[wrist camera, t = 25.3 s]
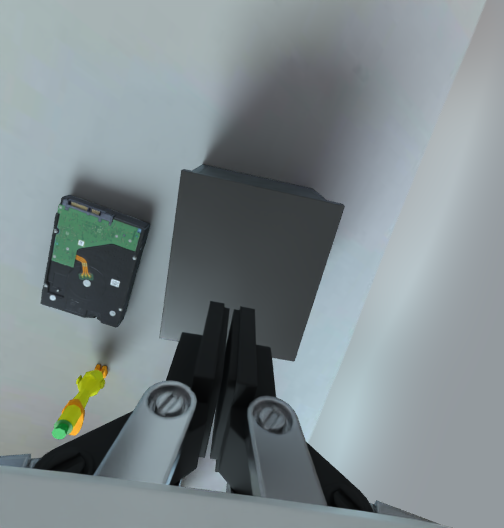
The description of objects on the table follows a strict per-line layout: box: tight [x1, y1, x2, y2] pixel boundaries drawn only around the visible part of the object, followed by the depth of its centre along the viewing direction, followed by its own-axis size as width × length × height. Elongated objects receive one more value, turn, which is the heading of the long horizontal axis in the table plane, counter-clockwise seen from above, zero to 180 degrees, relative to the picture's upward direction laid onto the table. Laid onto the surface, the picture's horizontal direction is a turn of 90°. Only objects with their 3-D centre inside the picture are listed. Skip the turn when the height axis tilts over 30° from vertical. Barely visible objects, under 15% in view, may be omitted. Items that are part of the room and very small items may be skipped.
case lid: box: [160, 169, 345, 361], centre depth 30 cm, size 16×14×1 cm
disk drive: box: [41, 195, 150, 327], centre depth 42 cm, size 10×3×15 cm
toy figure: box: [52, 364, 108, 439], centre depth 44 cm, size 7×4×12 cm, turn 166°
